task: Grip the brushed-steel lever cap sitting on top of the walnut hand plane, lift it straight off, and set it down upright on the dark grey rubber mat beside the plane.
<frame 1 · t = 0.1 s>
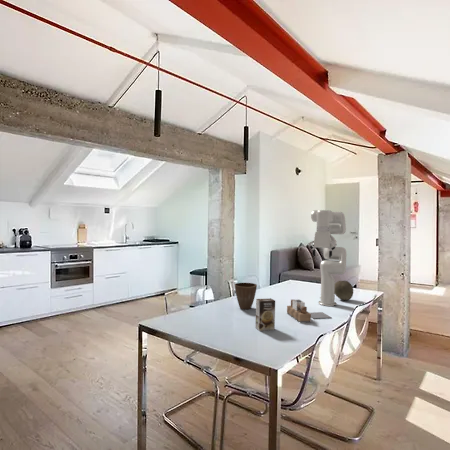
hand: (322, 256, 215), 37 cm above the table, tool pointing down, fingers open, 9 cm apart
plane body: (298, 317, 210), on the table
rubber mat: (318, 316, 214), on the table
coffee box: (265, 329, 187), on the table
cantaloupe: (343, 300, 259), on the table
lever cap: (298, 309, 210), point 5 cm above the table, touching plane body
plant pot: (245, 308, 230), on the table
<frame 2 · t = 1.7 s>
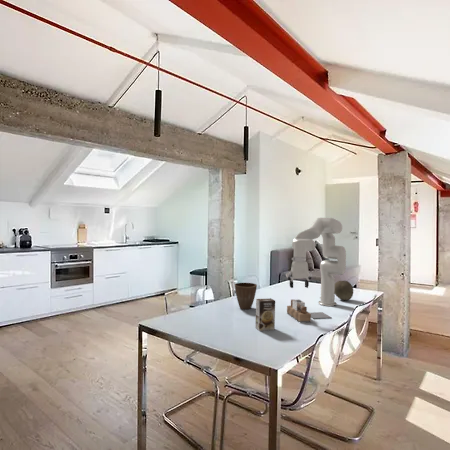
hand: (299, 287, 210), 19 cm above the table, tool pointing down, fingers open, 9 cm apart
nothing on the table moved.
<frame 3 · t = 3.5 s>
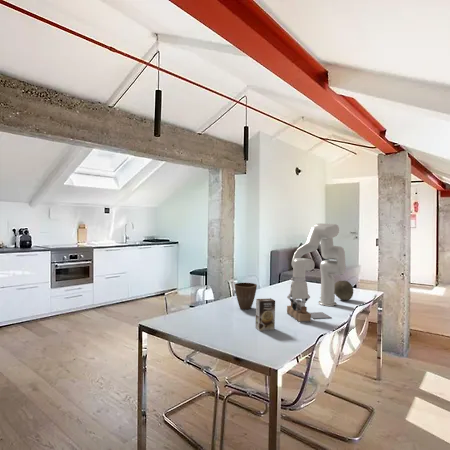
hand: (298, 308, 210), 5 cm above the table, tool pointing down, fingers closed on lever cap, 5 cm apart
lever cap: (298, 309, 210), point 5 cm above the table, touching gripper, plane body
everything else where it was.
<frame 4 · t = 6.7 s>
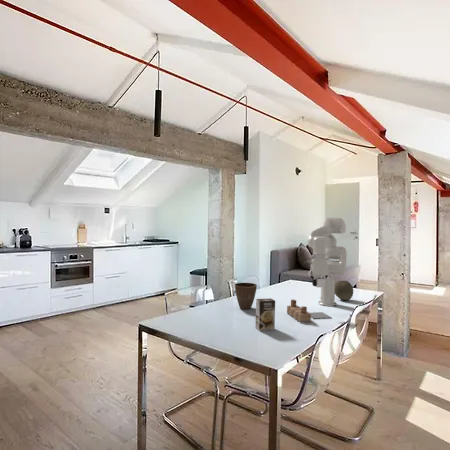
hand: (318, 285, 214), 19 cm above the table, tool pointing down, fingers closed on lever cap, 5 cm apart
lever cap: (318, 286, 214), point 19 cm above the table, touching gripper
everything else where it was.
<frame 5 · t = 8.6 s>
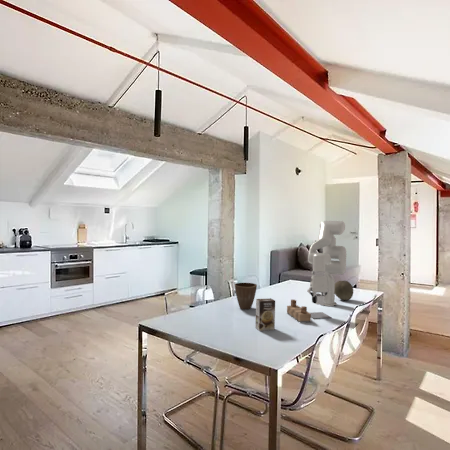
hand: (318, 302, 214), 9 cm above the table, tool pointing down, fingers closed on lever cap, 5 cm apart
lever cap: (318, 303, 214), point 8 cm above the table, touching gripper
everything else where it was.
when the fingers open (3 cm above the table, at t = 10.1 s): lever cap drops 2 cm, resting on rubber mat.
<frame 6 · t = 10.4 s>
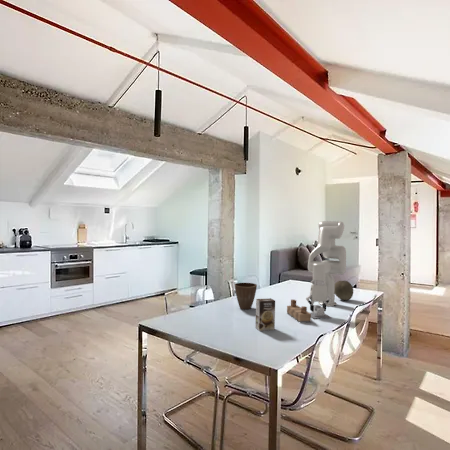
hand: (318, 310, 214), 3 cm above the table, tool pointing down, fingers open, 7 cm apart
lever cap: (318, 315, 214), point 1 cm above the table, touching rubber mat
everything else where it was.
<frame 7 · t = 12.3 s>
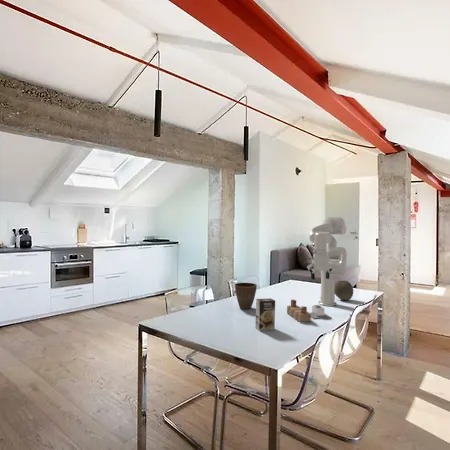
hand: (320, 279, 216), 23 cm above the table, tool pointing down, fingers open, 9 cm apart
nothing on the table moved.
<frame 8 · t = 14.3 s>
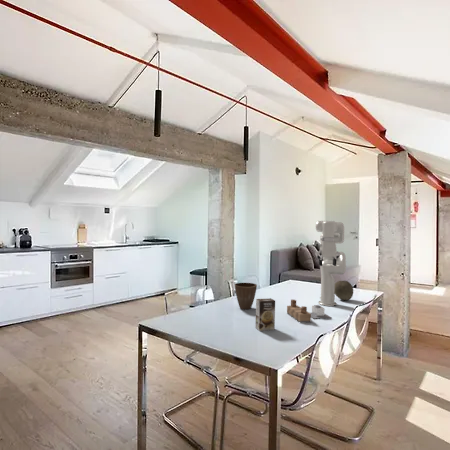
hand: (327, 265, 226), 30 cm above the table, tool pointing down, fingers open, 9 cm apart
nothing on the table moved.
at the end: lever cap inside the target area on the rubber mat (0.0 cm from its centre), point 0.6 cm above the rubber mat's base; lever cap tilted 0°; the gripper is holding nothing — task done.
